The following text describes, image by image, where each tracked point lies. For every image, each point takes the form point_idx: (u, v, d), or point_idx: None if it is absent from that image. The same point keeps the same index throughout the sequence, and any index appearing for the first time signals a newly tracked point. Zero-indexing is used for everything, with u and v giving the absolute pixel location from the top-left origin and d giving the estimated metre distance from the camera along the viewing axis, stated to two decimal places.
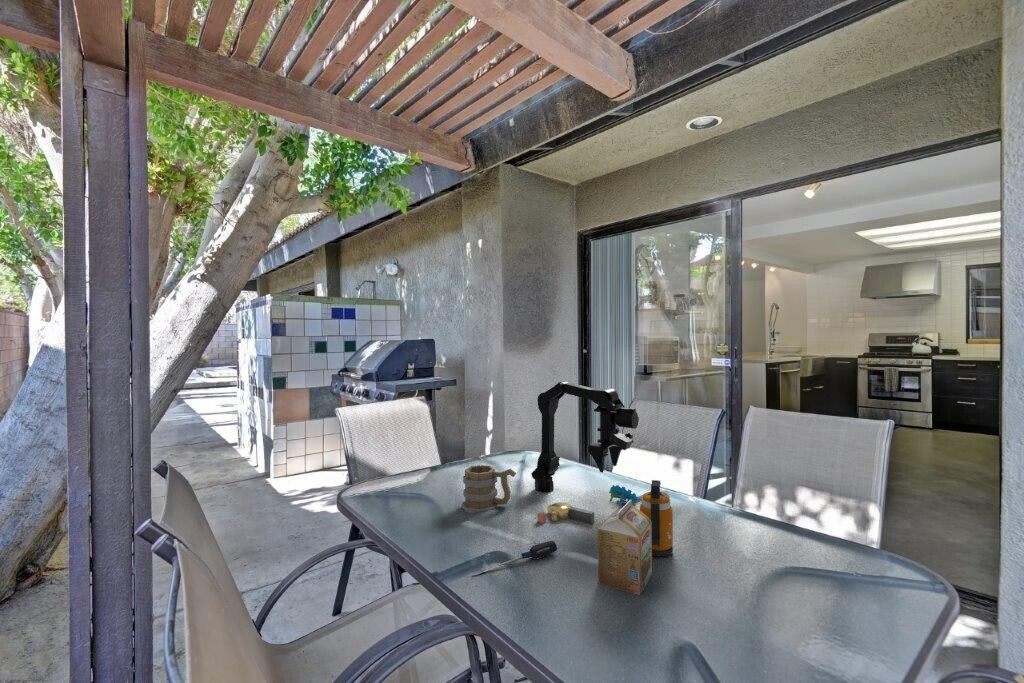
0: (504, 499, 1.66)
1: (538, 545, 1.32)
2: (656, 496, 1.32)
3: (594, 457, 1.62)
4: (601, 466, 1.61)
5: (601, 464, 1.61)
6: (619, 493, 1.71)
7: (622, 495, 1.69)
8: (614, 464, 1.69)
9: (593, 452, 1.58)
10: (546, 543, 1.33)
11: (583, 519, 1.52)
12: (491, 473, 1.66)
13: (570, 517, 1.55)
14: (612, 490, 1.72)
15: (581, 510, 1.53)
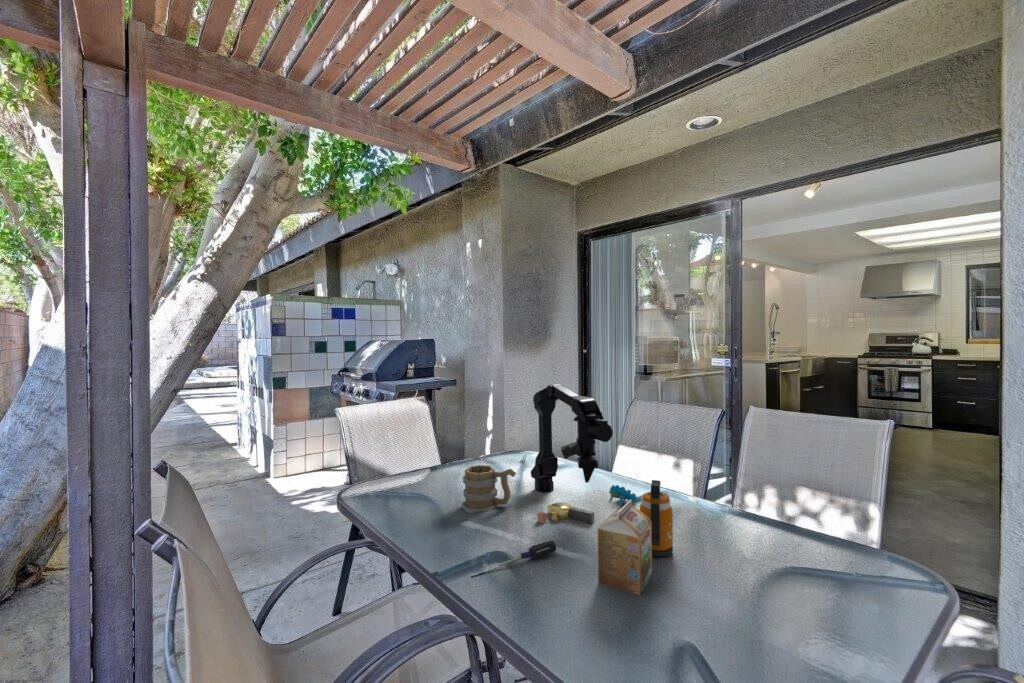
0: (504, 499, 1.66)
1: (537, 545, 1.32)
2: (656, 496, 1.32)
3: None
4: None
5: None
6: (619, 493, 1.71)
7: (622, 495, 1.69)
8: None
9: None
10: (545, 543, 1.33)
11: (583, 519, 1.52)
12: (491, 473, 1.66)
13: (570, 517, 1.55)
14: (612, 490, 1.72)
15: (581, 510, 1.53)
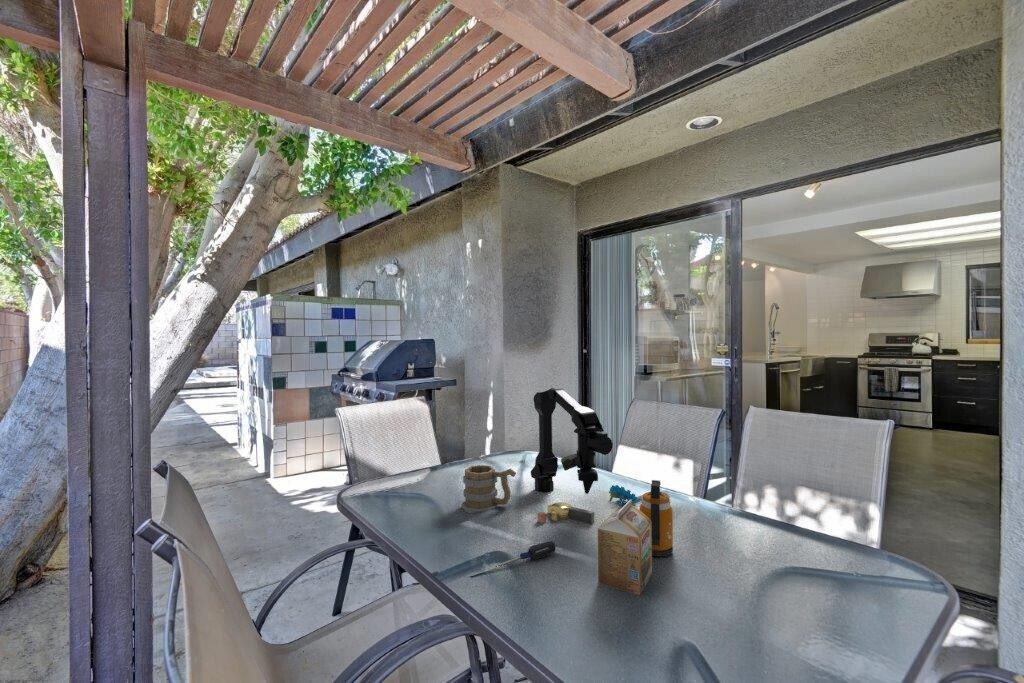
0: (504, 499, 1.66)
1: (537, 545, 1.32)
2: (656, 496, 1.32)
3: None
4: None
5: None
6: (619, 493, 1.71)
7: (621, 495, 1.69)
8: None
9: None
10: (545, 543, 1.33)
11: (583, 519, 1.52)
12: (491, 473, 1.66)
13: (570, 517, 1.55)
14: (612, 490, 1.72)
15: (581, 510, 1.53)
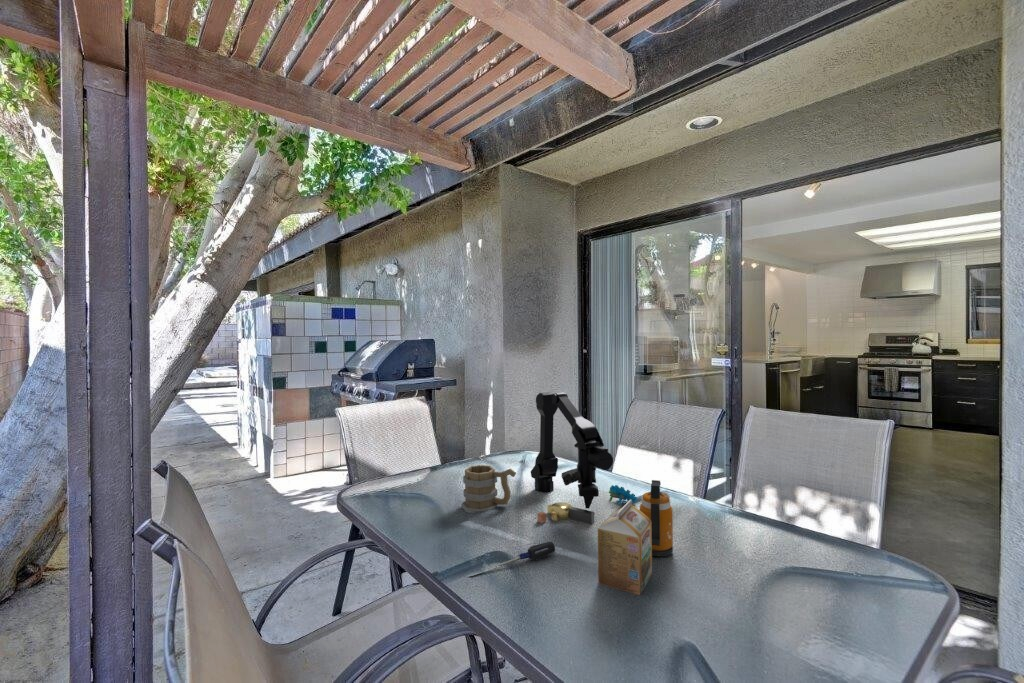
0: (504, 499, 1.66)
1: (536, 546, 1.32)
2: (656, 496, 1.32)
3: None
4: None
5: None
6: (618, 493, 1.71)
7: (621, 495, 1.69)
8: None
9: None
10: (544, 544, 1.32)
11: (583, 519, 1.52)
12: (491, 473, 1.66)
13: (570, 517, 1.55)
14: (611, 490, 1.72)
15: (581, 510, 1.53)
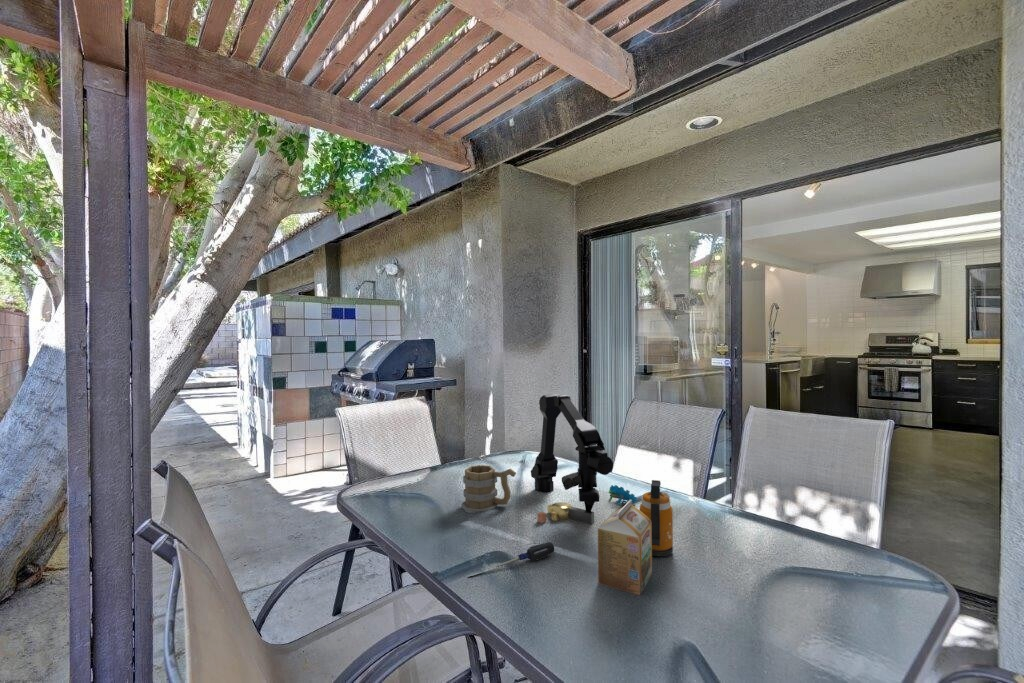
0: (504, 499, 1.66)
1: (535, 546, 1.31)
2: (656, 496, 1.32)
3: None
4: None
5: None
6: (618, 493, 1.71)
7: (621, 495, 1.69)
8: None
9: None
10: (543, 544, 1.32)
11: (583, 519, 1.52)
12: (491, 473, 1.66)
13: (570, 517, 1.55)
14: (611, 490, 1.72)
15: (581, 510, 1.53)
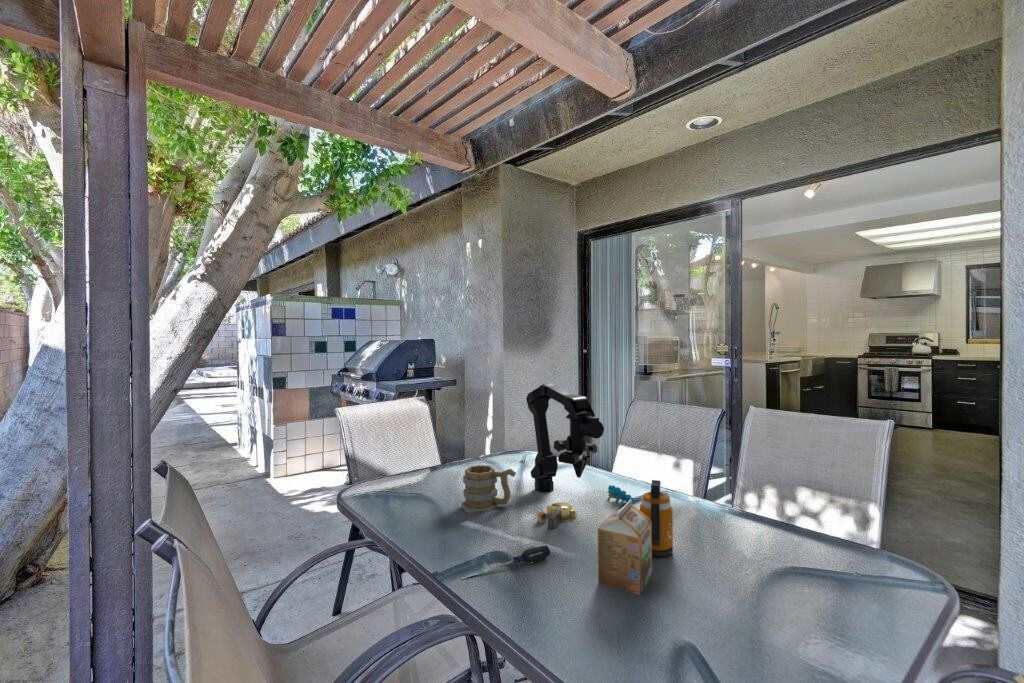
0: (504, 499, 1.66)
1: (530, 549, 1.30)
2: (656, 496, 1.32)
3: None
4: None
5: None
6: (616, 493, 1.71)
7: (618, 496, 1.69)
8: None
9: None
10: (539, 547, 1.30)
11: None
12: (491, 473, 1.66)
13: None
14: (610, 490, 1.72)
15: (554, 513, 1.51)
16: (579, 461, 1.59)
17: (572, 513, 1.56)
